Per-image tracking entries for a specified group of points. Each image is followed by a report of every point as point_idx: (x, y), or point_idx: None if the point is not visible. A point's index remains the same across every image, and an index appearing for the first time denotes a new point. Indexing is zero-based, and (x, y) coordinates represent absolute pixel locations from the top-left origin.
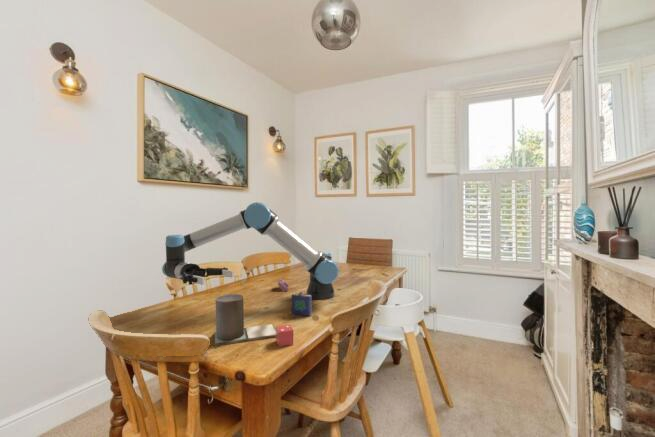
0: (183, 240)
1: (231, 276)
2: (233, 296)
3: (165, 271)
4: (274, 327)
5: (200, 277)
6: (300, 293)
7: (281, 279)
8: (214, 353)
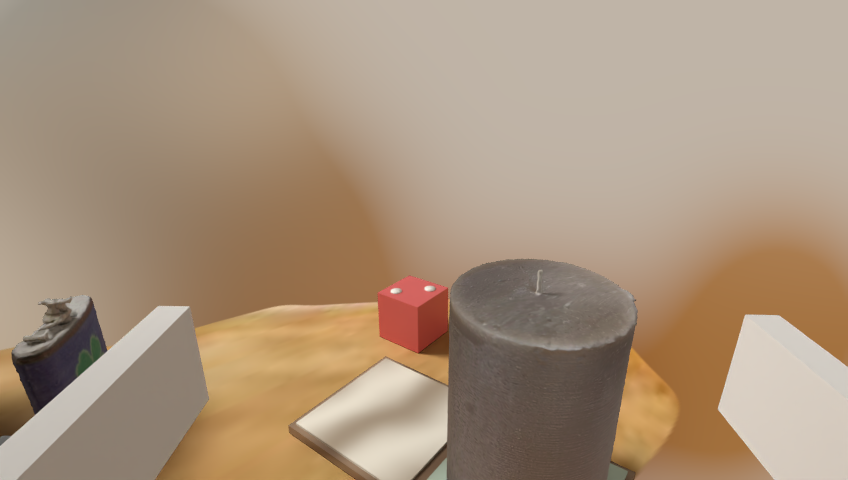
0: None
1: (195, 398)
2: (513, 288)
3: None
4: (324, 400)
5: (823, 354)
6: (65, 310)
7: None
8: (651, 431)
